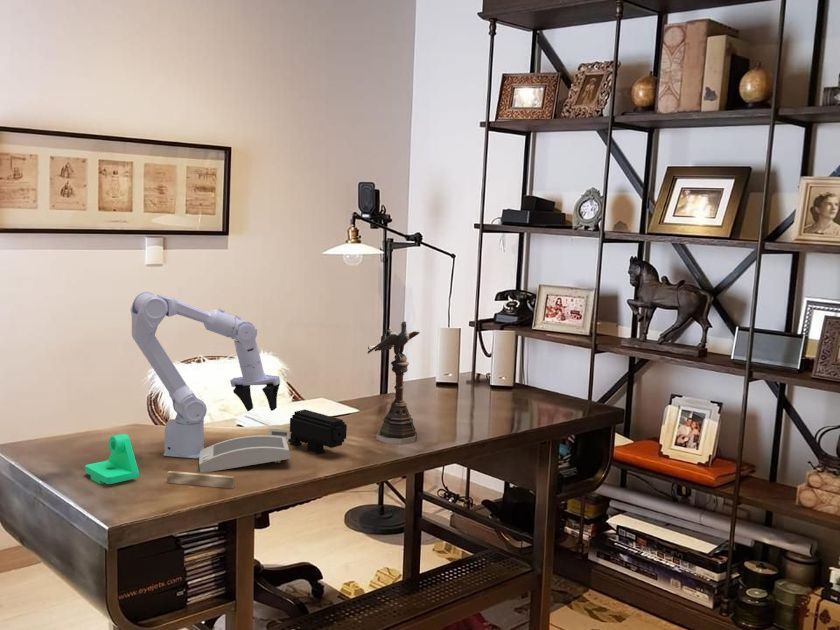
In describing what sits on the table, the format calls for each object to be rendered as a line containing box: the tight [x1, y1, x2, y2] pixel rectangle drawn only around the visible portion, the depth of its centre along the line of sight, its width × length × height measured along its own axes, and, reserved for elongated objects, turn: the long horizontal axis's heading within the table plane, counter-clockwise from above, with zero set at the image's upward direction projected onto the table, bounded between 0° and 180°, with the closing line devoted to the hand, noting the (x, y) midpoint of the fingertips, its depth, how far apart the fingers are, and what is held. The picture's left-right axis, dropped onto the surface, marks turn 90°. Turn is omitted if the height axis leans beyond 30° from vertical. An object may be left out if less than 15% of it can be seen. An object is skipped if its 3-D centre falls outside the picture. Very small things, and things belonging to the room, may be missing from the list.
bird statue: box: [367, 321, 421, 446], centre depth 242 cm, size 17×13×35 cm
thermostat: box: [198, 434, 292, 473], centre depth 214 cm, size 11×22×6 cm, turn 104°
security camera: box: [287, 409, 348, 455], centre depth 227 cm, size 7×18×10 cm, turn 51°
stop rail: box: [166, 470, 236, 489], centre depth 197 cm, size 16×1×2 cm, turn 82°
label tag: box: [268, 427, 291, 443], centre depth 235 cm, size 6×1×4 cm, turn 83°
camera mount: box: [84, 433, 140, 485], centre depth 199 cm, size 12×8×10 cm, turn 47°
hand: (262, 409), depth 230 cm, fingers open, 7 cm apart
